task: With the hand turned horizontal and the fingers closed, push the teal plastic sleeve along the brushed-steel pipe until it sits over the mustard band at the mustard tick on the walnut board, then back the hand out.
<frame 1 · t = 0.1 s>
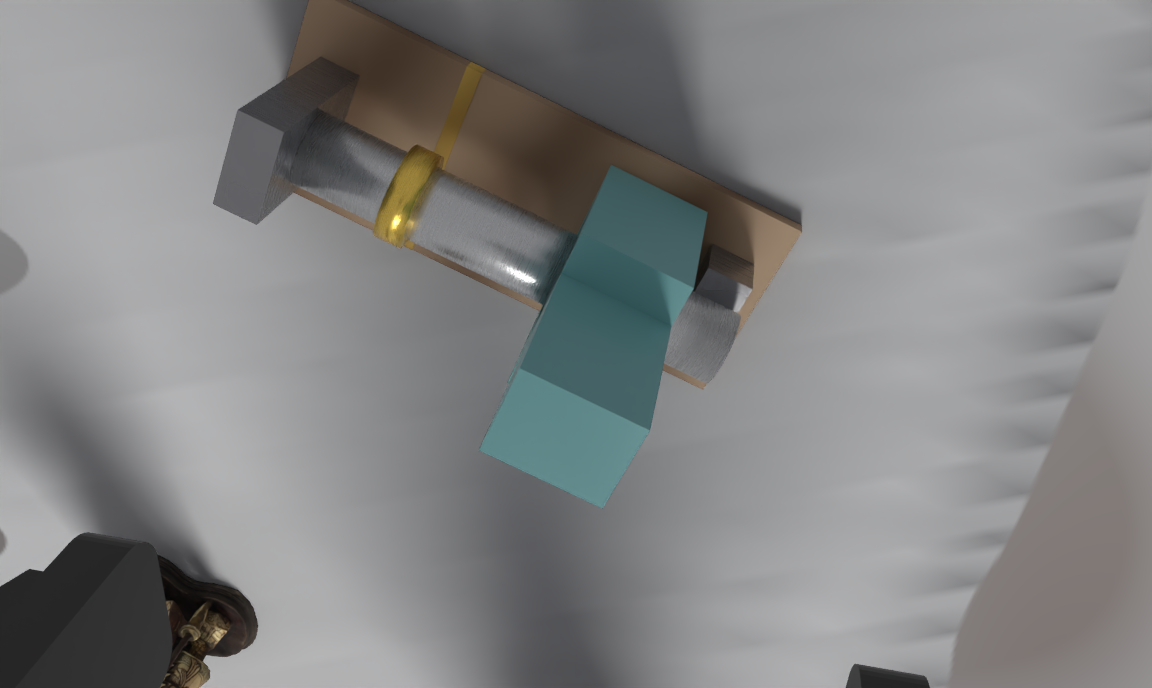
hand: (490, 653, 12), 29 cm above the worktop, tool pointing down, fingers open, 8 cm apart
sleeve: (597, 335, 35), point 7 cm above the worktop, slide at -4.5 cm
board: (523, 196, 41), on the worktop
pipe: (500, 238, 37), on the board, point 4 cm above the worktop
figurine: (179, 600, 56), on the worktop
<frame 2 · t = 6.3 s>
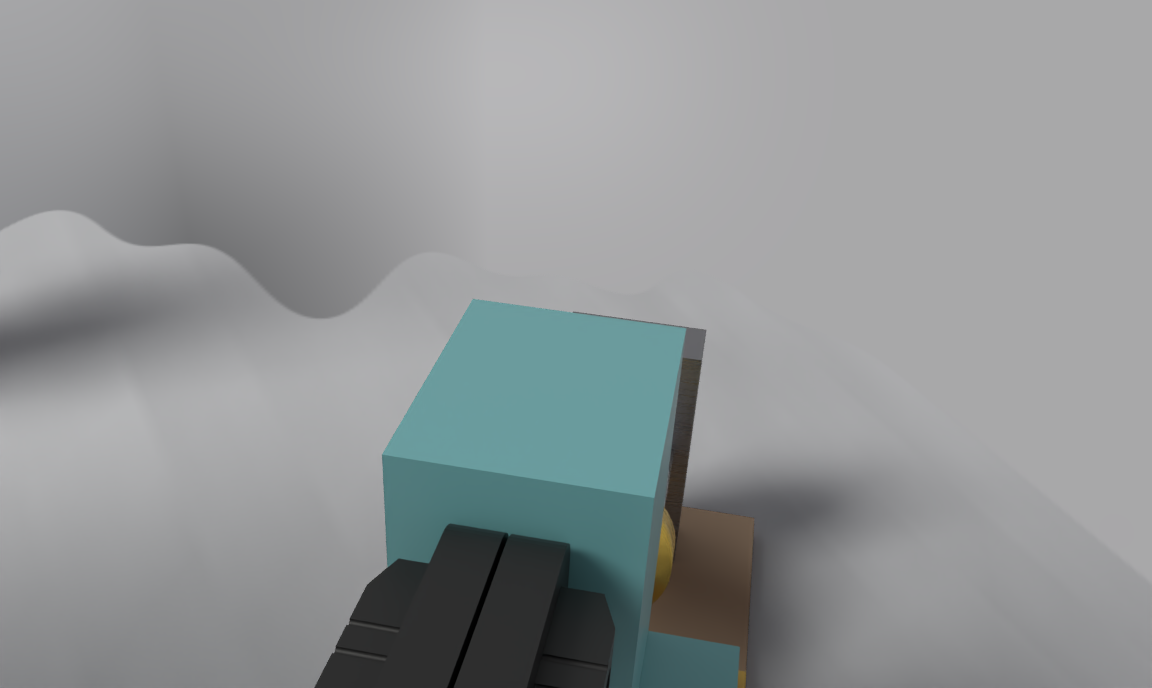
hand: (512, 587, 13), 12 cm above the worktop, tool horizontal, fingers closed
pipe: (569, 664, 22), on the board, point 4 cm above the worktop
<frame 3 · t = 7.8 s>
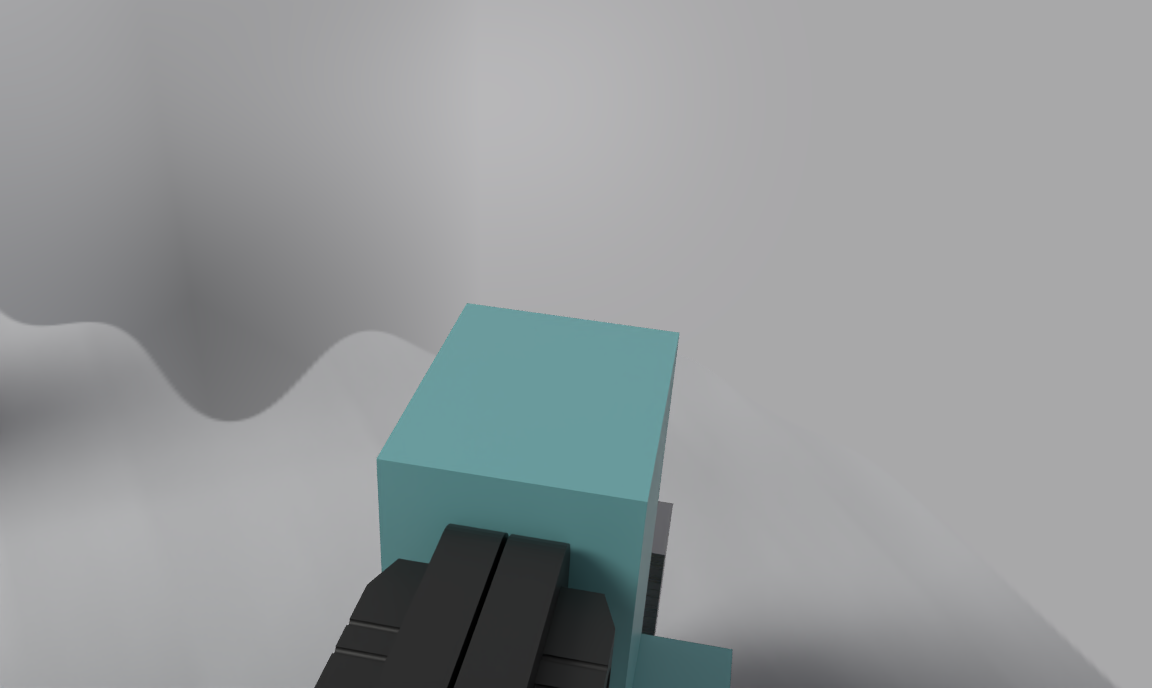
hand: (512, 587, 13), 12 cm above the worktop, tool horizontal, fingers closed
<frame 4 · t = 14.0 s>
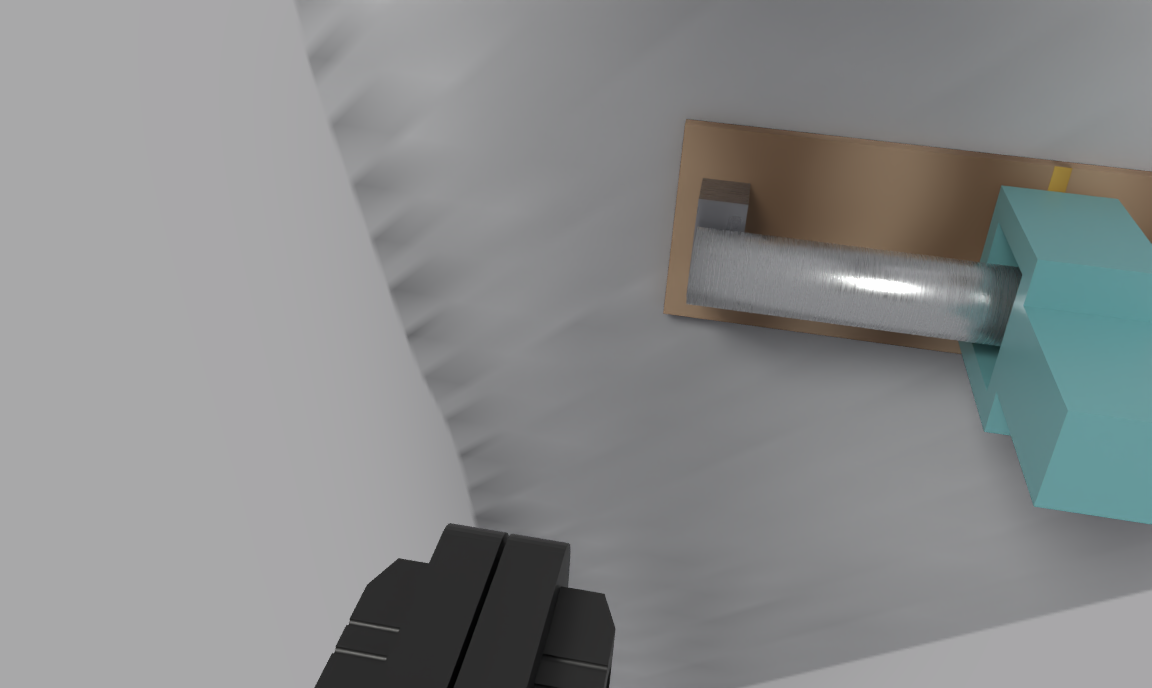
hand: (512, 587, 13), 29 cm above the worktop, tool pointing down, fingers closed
sleeve: (1073, 356, 33), point 7 cm above the worktop, slide at 3.5 cm
board: (934, 249, 40), on the worktop
pipe: (946, 296, 36), on the board, point 4 cm above the worktop
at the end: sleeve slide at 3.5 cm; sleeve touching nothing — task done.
